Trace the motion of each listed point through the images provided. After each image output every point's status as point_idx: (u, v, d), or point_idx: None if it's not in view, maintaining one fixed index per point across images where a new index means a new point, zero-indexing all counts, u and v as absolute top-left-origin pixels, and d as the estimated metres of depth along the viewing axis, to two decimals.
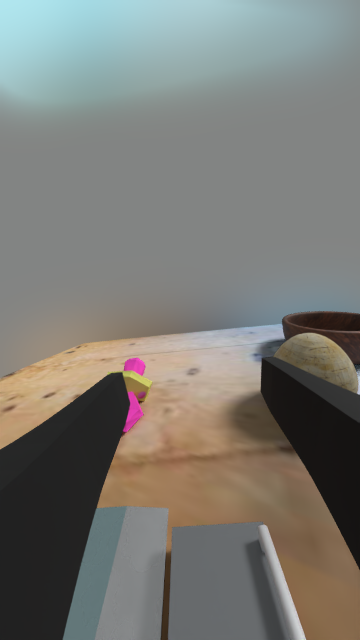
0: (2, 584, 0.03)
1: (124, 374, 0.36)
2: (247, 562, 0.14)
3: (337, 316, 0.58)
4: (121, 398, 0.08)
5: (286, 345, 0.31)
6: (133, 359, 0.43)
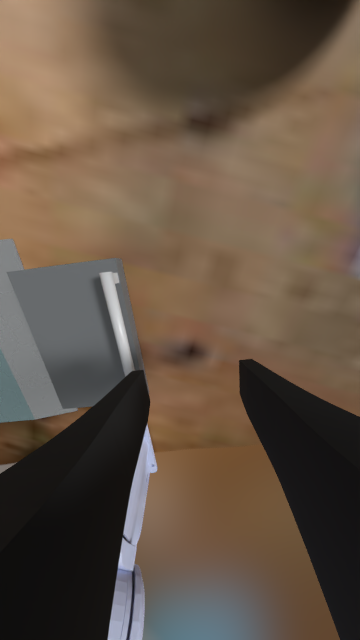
0: (61, 581, 0.03)
1: None
2: (93, 291, 0.14)
3: None
4: (143, 396, 0.08)
5: None
6: None
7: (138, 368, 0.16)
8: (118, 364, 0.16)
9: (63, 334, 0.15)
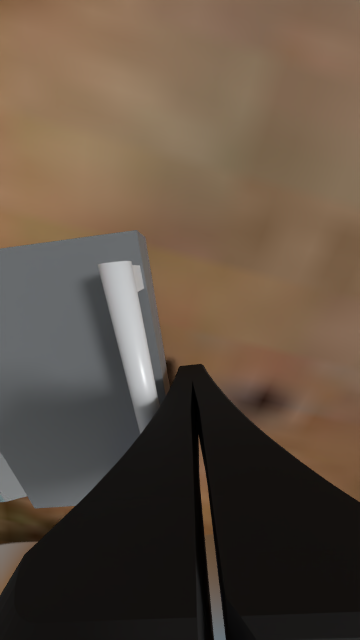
0: (201, 575, 0.03)
1: None
2: (86, 308, 0.06)
3: None
4: None
5: None
6: None
7: None
8: None
9: (26, 391, 0.07)
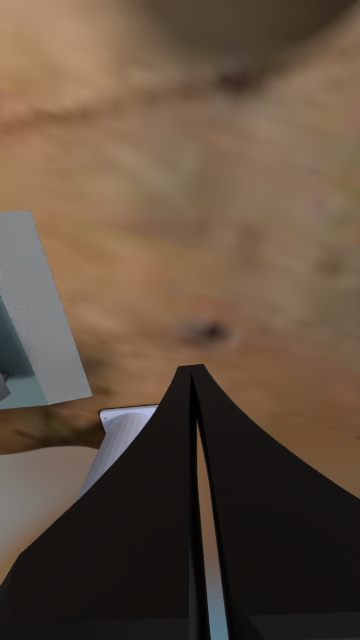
0: None
1: None
2: None
3: None
4: (193, 391, 0.08)
5: None
6: None
7: None
8: None
9: None
